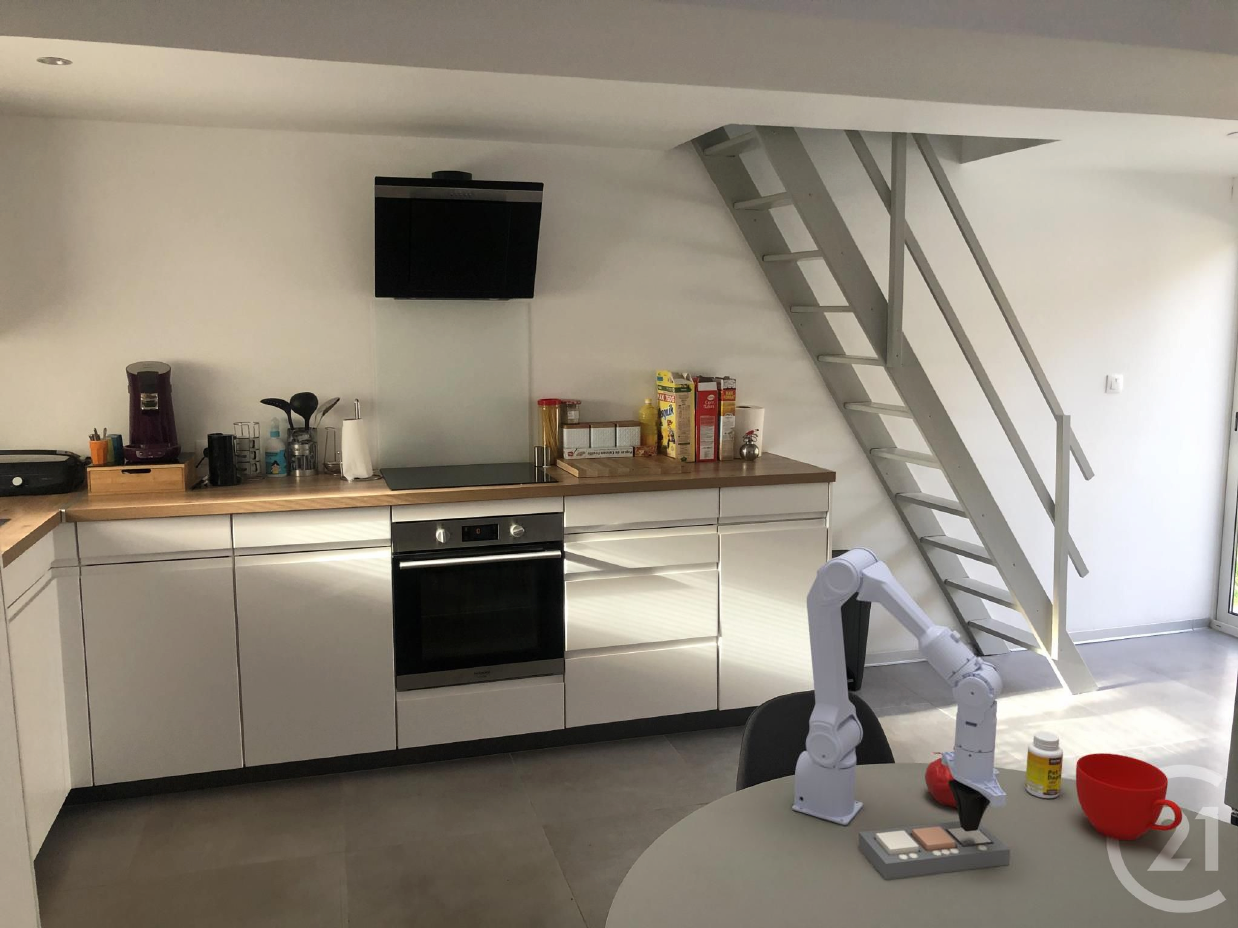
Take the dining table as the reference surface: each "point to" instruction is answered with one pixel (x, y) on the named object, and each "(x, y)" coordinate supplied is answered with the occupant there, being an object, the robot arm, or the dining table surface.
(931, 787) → the red hollow rounded sculpture
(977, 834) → the button one dot
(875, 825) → the dining table surface
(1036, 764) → the supplement bottle
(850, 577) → the robot arm
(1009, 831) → the dining table surface
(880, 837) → the button two dot
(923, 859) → the button panel
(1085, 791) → the ceramic cup
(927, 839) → the button three dot
